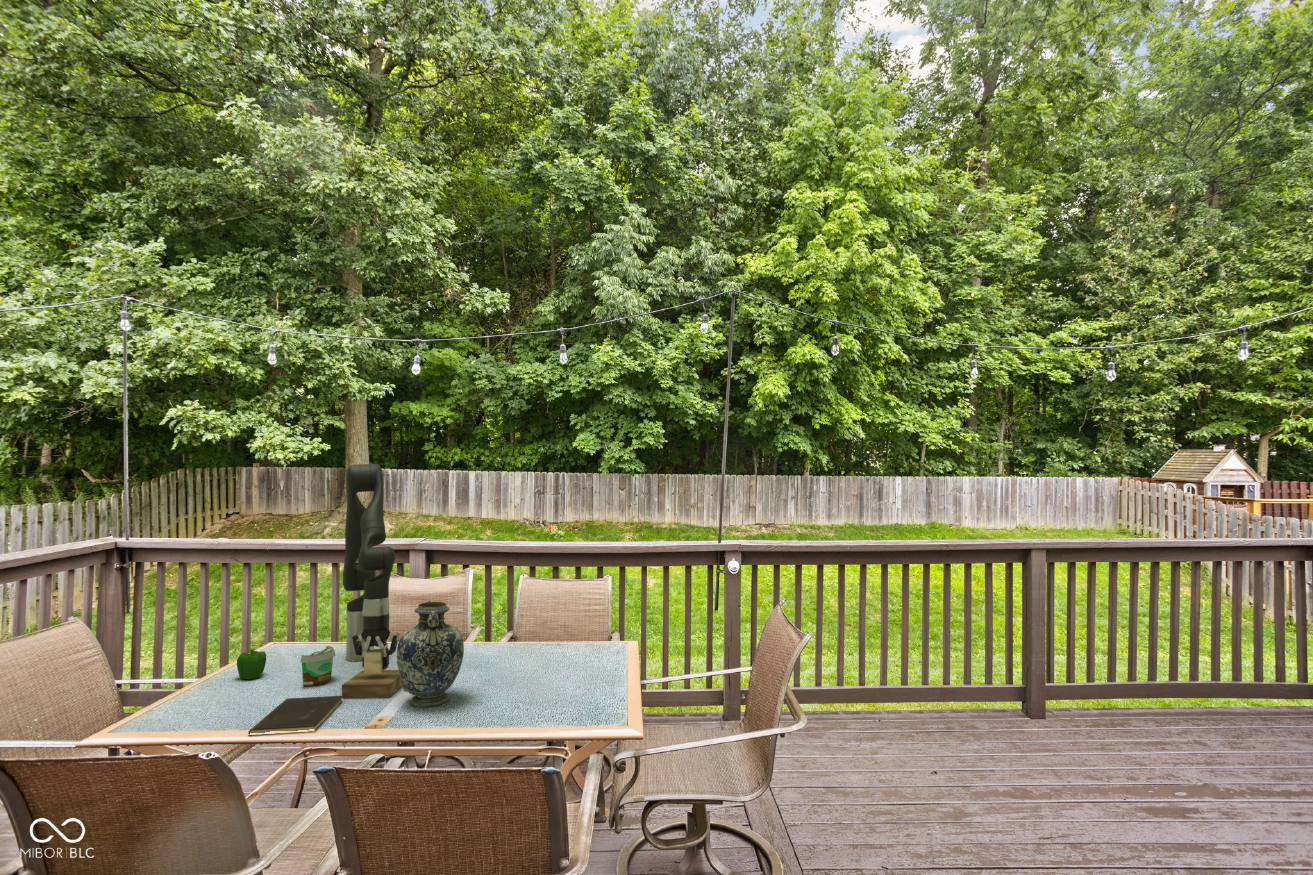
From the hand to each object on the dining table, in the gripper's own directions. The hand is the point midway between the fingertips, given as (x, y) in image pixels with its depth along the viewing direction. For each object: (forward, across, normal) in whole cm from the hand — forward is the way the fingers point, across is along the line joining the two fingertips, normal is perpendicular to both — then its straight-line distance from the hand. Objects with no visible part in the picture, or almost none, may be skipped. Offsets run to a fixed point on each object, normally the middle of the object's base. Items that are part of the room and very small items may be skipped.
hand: (375, 668), depth 205 cm
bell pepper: (+7, +46, -14) cm, 49 cm away
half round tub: (+7, +20, -8) cm, 23 cm away
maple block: (+1, 0, 0) cm, 1 cm away
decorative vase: (+7, -20, +10) cm, 23 cm away
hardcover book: (+7, +12, +22) cm, 26 cm away
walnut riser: (+7, 0, 0) cm, 7 cm away
